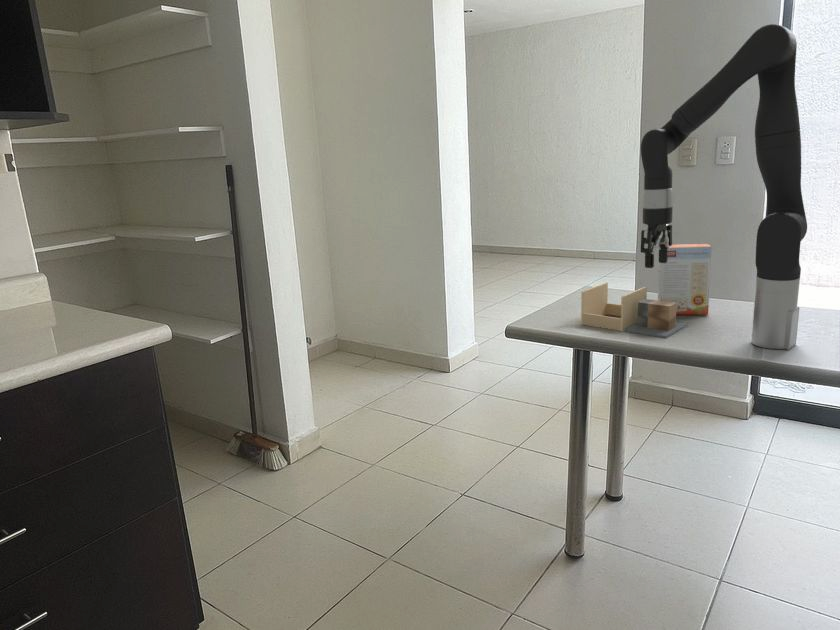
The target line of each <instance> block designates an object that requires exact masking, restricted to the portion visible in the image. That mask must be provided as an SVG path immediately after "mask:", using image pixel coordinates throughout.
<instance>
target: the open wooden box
mask: <svg viewBox="0 0 840 630" xmlns="http://www.w3.org/2000/svg"><path fill="white" fill-rule="evenodd" d="M608 284H609V282H607V281H606V282H604V283H602V284H598V285H595V286H593V287H591V288H588V289H585V290H582V291H581V300H580V301H581V302H580V303H581V307H580V309H581V311H580V312H581V313H580V315H581V317H580V318H581V319H580V320H581V321H580V322H581V323H580V325H583V326H589V327H596V328H600V327H601V329H606V328H608V329H607V330H612V329H613V331H619V332H623V331H624V330H625V329H626V328H628V327H630V326H632V325H634V324H636V323H637V319H638V302H640V301H642V300H644V299H648V298H647V295H648V294H647V293H648V287H647V286H643V287H641V288H639V289H636V290H634V291H631V292H628V293H627V294H624V295H621V300H620V301H621V304H620V303H619V304H617V303H611V302H608V300H609V299H608V296H609V295H608V293H609V291H608V290H609V287H608V286H609V285H608ZM607 315H608V316H607ZM613 316H616V317H613ZM624 332H625V331H624Z"/></svg>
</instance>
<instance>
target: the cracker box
mask: <svg viewBox="0 0 840 630" xmlns="http://www.w3.org/2000/svg"><path fill="white" fill-rule="evenodd" d="M659 250H660V249H659V248H658V251H659ZM667 250H668V258H667V263H659V262H658V277H657V278H658V279H657V280H658V281H657V282H658V283H657V301H665V302H674V303H677V307H676V316H677V315H678V316H679V315H681V316H683V315H690V316H691V315H692V316H693V315H694V316H695V315H697V316H700V315H701V316H703V315H704V316H707V315H709V308H710V307H709V306H710V304H709V302H710V286H711V285H710V284H711V283H710V282H711V269H712V268H711V267H712V265H711V264H712V246H711V245H710V244H708V243H689V244H687V243H683V244H682V243H680V244H672V246H669V249H667Z"/></svg>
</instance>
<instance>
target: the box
mask: <svg viewBox="0 0 840 630" xmlns="http://www.w3.org/2000/svg"><path fill="white" fill-rule="evenodd" d="M676 307H677V303H674V302H665V301H658V299H648V298H646V299H644V300H642V301H640V302H638V319H637V326H640V327H646V328H652V329H659V330H665V331H669V330H671V329H673V328H675V327H676V322H677V315H676Z"/></svg>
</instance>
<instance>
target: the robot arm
mask: <svg viewBox="0 0 840 630" xmlns="http://www.w3.org/2000/svg"><path fill="white" fill-rule="evenodd" d="M797 45H798V43H797V38H796V36H795V34H794V33H793V31H791V30H790V29H789V28H787V27H785V26H783V25H780V24H774V23H771V24H766V25H763V26H761V27H759V28H758V29H756V30H755V31H754V32H753V33H752V34H751V36H749V38H747V40H746V41H745V42H744V43H743V44H742V46H741V47H740V48H739V49H738V51H737V52H736V53H735V54H734V55H733V57H731V58H730V59H729V61H728V62H727V63H725V65H724V66H723V67H721V68H720V70H719V71H718V72H717V73H716V74H715V75H714V76H713V77H712V78H710V79H709V80H708V81H707V83H706V84H704V85H703V86H702V87H701V88H700V89H699V90H697V91H695V93H693V95H692V96H690V97H689V98H688V99H687V100H686V101H685V102H684V103H682V104H681V105H680V106H679V107H678V108H676V110H675V111H674V112H673V113H672V115H671V118H670V120H669V121H667V122H666V123H665V124H664V125H663V126H662V127H660V128H655V129H651V130H649V131H647V132H645V134H644V135H643V137H642V139H641V143H640V155H641V164H642V168H643V173H644V176H643V177H644V179H643V180H644V181H643V184H644V185H643V194H642V195H643V196H642V224H644V225H647V230H646V229H644V230H643V229H641V232H640V234H641V235H640V253H643V254H644V267H645V269H653V268H654V267H655V251H656V248H658V264H659V263H667V258H668V250H667V249H669V246H672V245H673V225H672V224H671V223H672V222H673V206H674V205H673V204H674V197H673V196H674V194H673V170H672V168H671V167H670V165H669V160H668V159H669V158H668V156H669V154H671V153H673V152H674V151H675V150H676V149H678V148H679V147H680V146H681V145H682V143H684V141H685V140H686V139H687V138H688V137H689V136H690V135H691V134H692V133H693V132H694V131H696V130H697V129H699V128H700V126H702V125H703V124H704V123H706V122H707V121H708V120H709V119H710V118H712V117H713V115H715V114H716V113H717V112H718V110H720V109H721V108H722V107H723V105H725V103H726V102H727V101H728V100H729V99H730V97H731V96H733V94H734V93H735V92H736V91H737V90H738V89H739V88H740V87H742V86H743V85H744V84H745V83H747V82H748V81H749V80H750V79H751V78H753V77H755V76H756V75H757V80H758V87H759V89H758V90H759V99H758V100H759V101H758V105H757V106H758V107H757V110H756V118H755V125H754V142H755V143H754V144H755V156H756V162H757V166H758V169H759V173H760V175H761V178H762V181H763V183H764V187H765V191H766V216H765V217H764V218H763V219H762V220H761V222H760V223H759V225H758V228H757V233H756V245H755V260H754V261H755V267H756V280H755V292H754V304H753V315H752V318H753V319H752V328H751V329H752V330H751V344H753V345H754V346H756V347H760V348H764V349H770V350H771V349H772V350H791V349H792V348H793V347H794V346H795V345H796V344H797V339H798V328H799V326H798V325H799V318H800V306H798V303H799V290H800V281H801V272H802V268H801V265H800V252H801V242H802V241H803V239H804V238H805V236H806V235H807V231H808V221H807V216H806V211H805V206H804V201H803V194H802V140H801V139H802V138H801V137H802V136H801V126H800V125H801V124H800V115H799V107H798V106H799V105H798V100H797V94H796V84H795V82H796V63H797V62H796V61H797V60H796V59H797V47H798V46H797ZM659 249H660V250H659Z"/></svg>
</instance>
